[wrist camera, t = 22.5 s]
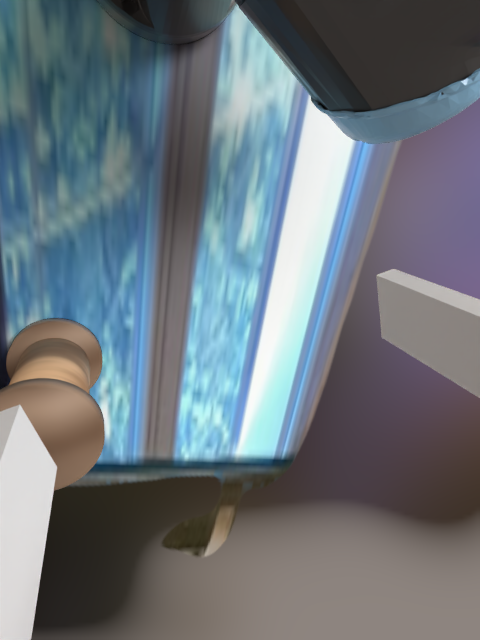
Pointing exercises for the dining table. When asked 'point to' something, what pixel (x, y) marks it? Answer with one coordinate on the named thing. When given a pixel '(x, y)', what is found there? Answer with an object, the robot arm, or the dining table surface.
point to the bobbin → (58, 392)
